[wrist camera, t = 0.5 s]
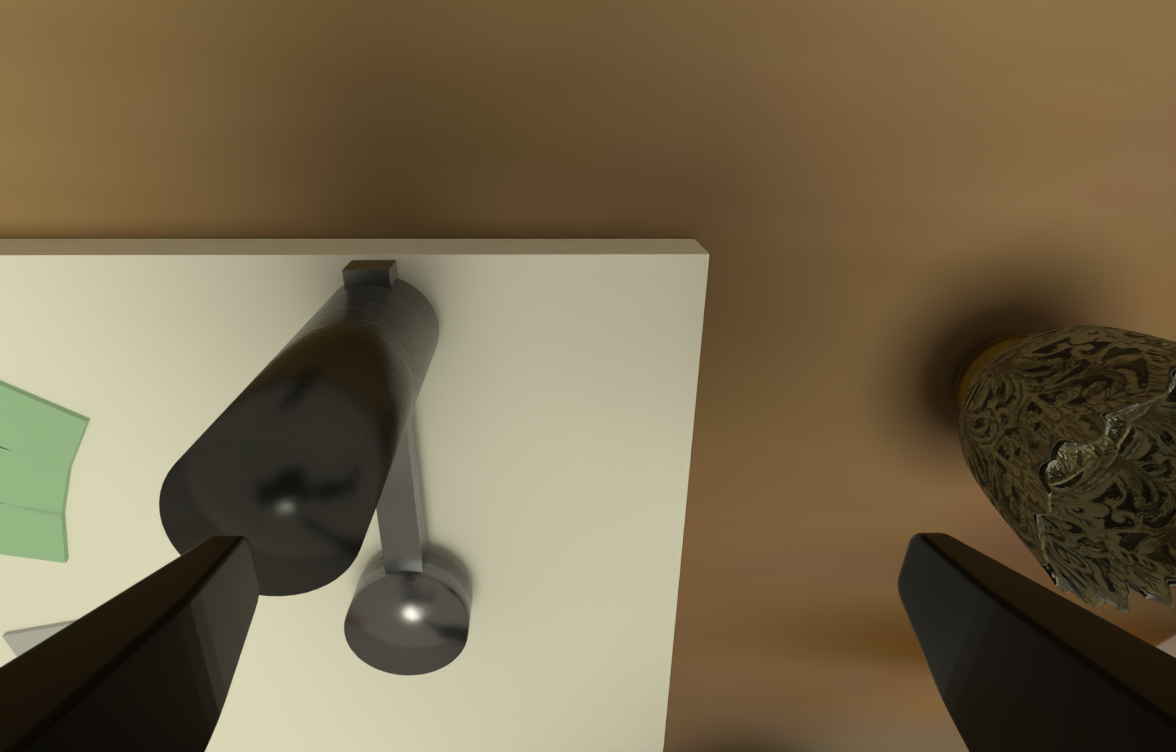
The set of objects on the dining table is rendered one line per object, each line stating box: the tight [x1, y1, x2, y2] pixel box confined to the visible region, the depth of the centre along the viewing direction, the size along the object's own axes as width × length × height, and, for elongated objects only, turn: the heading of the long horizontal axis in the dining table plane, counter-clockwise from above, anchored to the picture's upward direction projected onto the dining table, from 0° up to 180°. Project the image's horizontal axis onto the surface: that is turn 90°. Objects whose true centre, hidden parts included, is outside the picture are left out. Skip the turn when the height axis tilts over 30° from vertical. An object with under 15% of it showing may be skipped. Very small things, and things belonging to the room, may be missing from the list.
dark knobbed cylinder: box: [159, 260, 473, 675], centre depth 17 cm, size 14×4×9 cm, turn 179°
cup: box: [954, 326, 1176, 613], centre depth 20 cm, size 8×7×8 cm
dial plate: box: [0, 239, 709, 752], centre depth 24 cm, size 22×25×2 cm
